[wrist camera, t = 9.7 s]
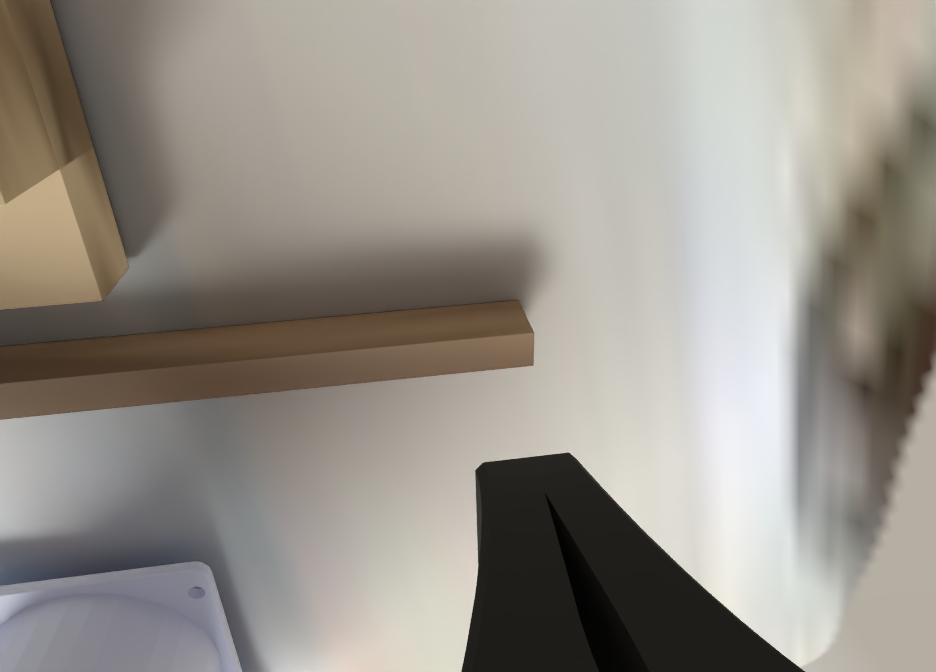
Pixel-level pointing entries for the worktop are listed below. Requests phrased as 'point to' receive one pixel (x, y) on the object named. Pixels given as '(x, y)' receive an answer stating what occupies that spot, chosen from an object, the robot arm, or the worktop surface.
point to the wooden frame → (261, 358)
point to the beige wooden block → (48, 173)
